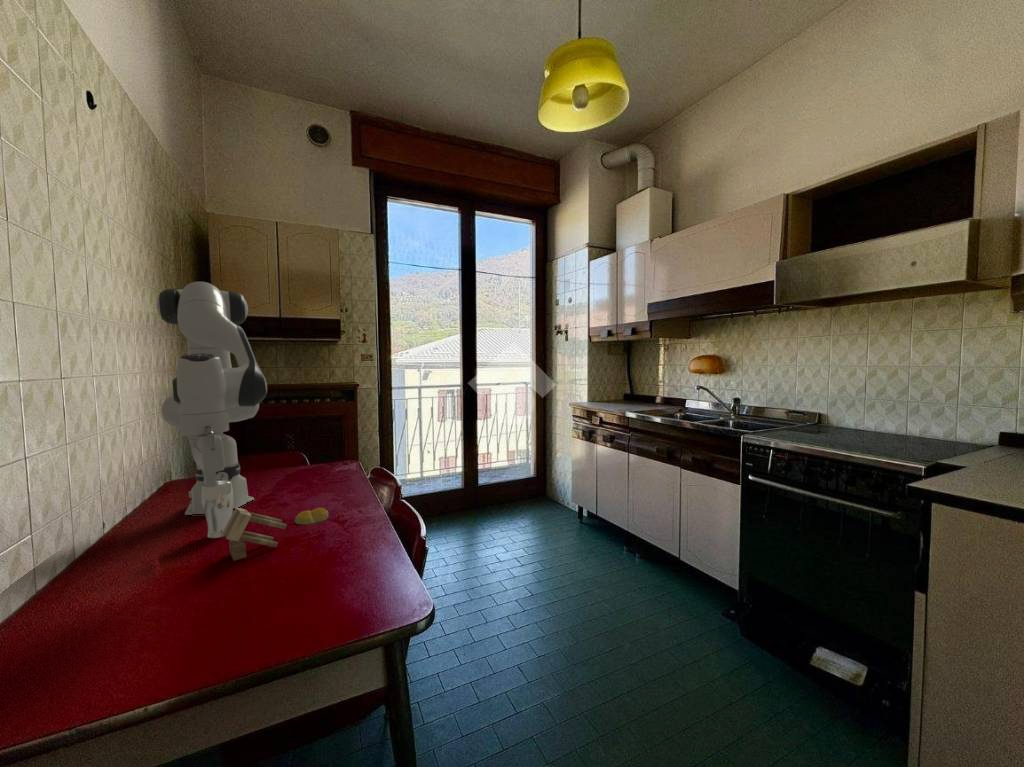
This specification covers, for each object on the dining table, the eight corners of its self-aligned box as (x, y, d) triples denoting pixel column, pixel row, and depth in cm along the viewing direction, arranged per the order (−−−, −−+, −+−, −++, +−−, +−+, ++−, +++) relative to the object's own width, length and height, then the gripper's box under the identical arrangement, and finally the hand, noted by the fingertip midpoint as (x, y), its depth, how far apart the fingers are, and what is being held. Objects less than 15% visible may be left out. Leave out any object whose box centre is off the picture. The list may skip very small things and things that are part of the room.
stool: (269, 541, 105) (222, 532, 98) (281, 518, 107) (235, 507, 100) (275, 548, 100) (226, 539, 94) (287, 524, 102) (240, 513, 95)
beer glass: (242, 532, 115) (238, 478, 114) (222, 542, 108) (218, 486, 107) (219, 532, 116) (215, 479, 115) (198, 542, 109) (193, 486, 108)
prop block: (230, 554, 99) (229, 541, 98) (242, 550, 100) (241, 537, 100) (233, 561, 95) (232, 547, 95) (246, 557, 97) (245, 543, 97)
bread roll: (295, 521, 122) (295, 508, 122) (329, 515, 126) (328, 502, 125) (294, 531, 114) (293, 517, 114) (329, 525, 118) (328, 511, 118)
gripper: (230, 427, 88) (235, 491, 88) (215, 420, 103) (219, 475, 103) (192, 431, 83) (198, 498, 84) (183, 423, 98) (188, 480, 99)
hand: (210, 485), depth 94 cm, fingers closed
